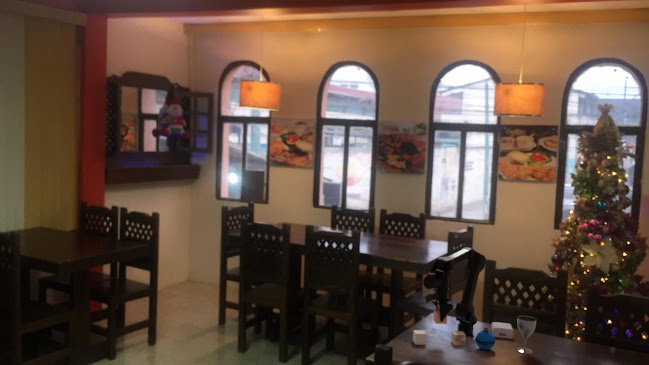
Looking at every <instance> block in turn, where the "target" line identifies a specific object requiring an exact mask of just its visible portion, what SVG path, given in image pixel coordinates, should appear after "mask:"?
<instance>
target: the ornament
mask: <svg viewBox="0 0 649 365" xmlns="http://www.w3.org/2000/svg"><path fill="white" fill-rule="evenodd" d="M474 337H475V339H474V341H475V343H476V345H477V347H478V348H479V349H481V350H483V351H488V350H490V349H493V347H494V346H495V344H496V337H494V336H493V334H492V332H490V331H489V328H488V327H484V328H483V330H481V331H479V332H478V333H477V334H476V336H474Z"/></svg>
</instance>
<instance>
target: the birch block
mask: <svg viewBox="0 0 649 365" xmlns="http://www.w3.org/2000/svg"><path fill="white" fill-rule="evenodd" d="M450 340H451V344H453V346H466V335H465V333H464V332H463V331H457V330H452V331H451V339H450Z"/></svg>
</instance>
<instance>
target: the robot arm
mask: <svg viewBox="0 0 649 365" xmlns="http://www.w3.org/2000/svg"><path fill="white" fill-rule="evenodd" d="M465 260H466V261H467V263H466V266H467V269H468V273H467V277H466V280H465V286H464V290H463V294H462V295H463V296H462V299H461V301H459V302H457V303H456V304H455V305H456V306H455V309H454V305H453V304H452V303H451V301H450V298H449V293H450V292H451V290H450V289H449V288H450V287H449V286H450V277H452V276H453V273H452V271H453V270H454V269H455V267H456V265H458V264H460V263H462V262H464V261H465ZM486 264H487V258H486V256H485V254H482V253H480V252H478V251H476V250H475V249H474V248H472V247H463V248H462V249H461V250H459V251H456V252H455V253H452V254H450V255H448V256H441V257H437V258H436V260H435V262H434V263H433V265H432V267H431V270H430V271H429V273H428V272H427V274H426V276H425V277H424V279H423V280H422V281H423V282H422V284H423V286H424V288H425V289H427V290H428V291H426V292H423V293H422V297H423V300H424V302H425V303H430V302H432V304H433V305H434V306H435V307H434V308H435V309H437V310H439V312H440V321H441V322H443V321H444V319H445V317H446V315H447V316H448V314H449V312H450V311H453V310H454V315H455V320H456V321H457V322H458V324H457V328H456V329H457V330H456V331H463V332H464V333H465V335H466V337H467V338H473V337H475V335H474V326H475V325H476V324H477V323H478V318H477V316H476V315H475V307H474V304H473V302H474V298H475V297H474V296H475V293H476V289H477V285H478V282H479V281H478V280H479V277H480V273H481V272H482V271H483V270H484V269H485V267H486Z"/></svg>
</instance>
